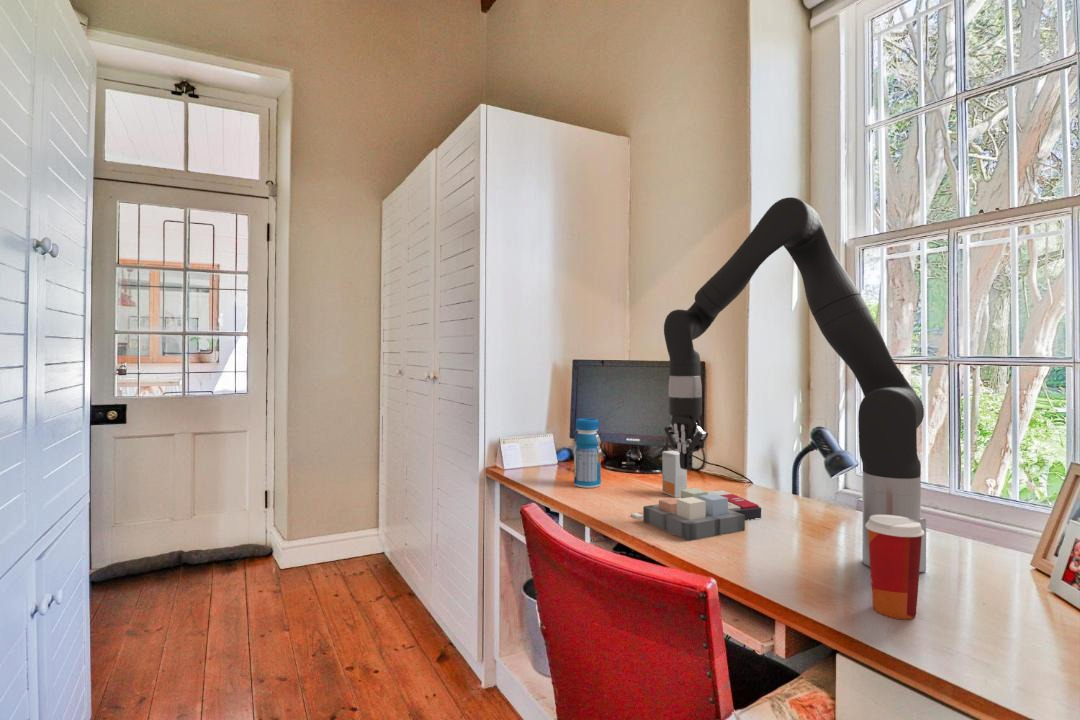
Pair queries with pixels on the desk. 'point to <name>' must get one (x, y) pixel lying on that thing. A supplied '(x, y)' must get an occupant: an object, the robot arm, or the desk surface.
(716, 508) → the slate key
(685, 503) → the cream key
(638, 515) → the strip
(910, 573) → the paper cup
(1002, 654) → the desk surface
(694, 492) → the sage key
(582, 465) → the beverage bottle
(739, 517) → the keypad base
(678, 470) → the skincare box
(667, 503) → the terracotta key
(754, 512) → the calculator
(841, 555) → the desk surface
